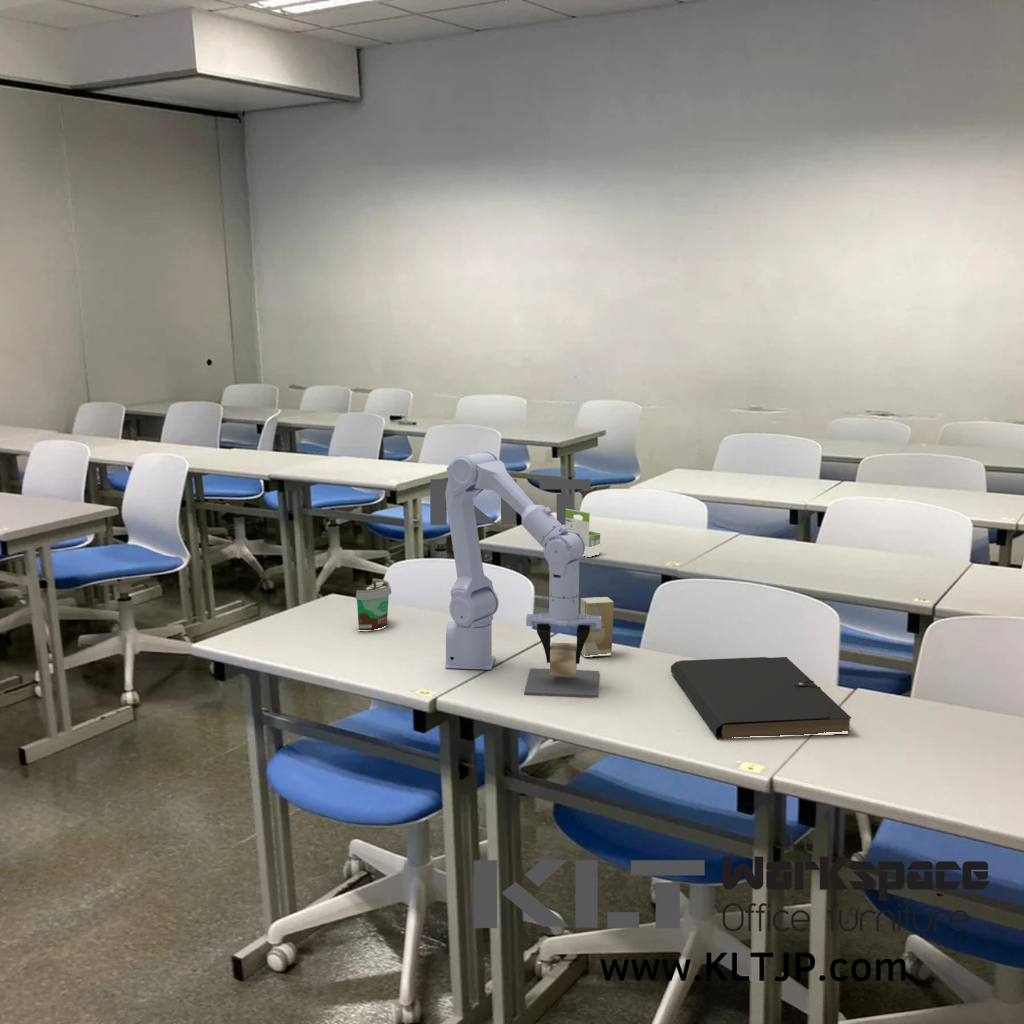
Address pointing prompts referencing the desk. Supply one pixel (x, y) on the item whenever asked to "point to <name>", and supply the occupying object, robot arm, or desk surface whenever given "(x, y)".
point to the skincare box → (601, 637)
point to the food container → (373, 605)
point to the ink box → (582, 527)
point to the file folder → (758, 697)
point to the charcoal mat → (562, 683)
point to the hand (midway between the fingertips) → (563, 661)
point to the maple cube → (563, 659)
